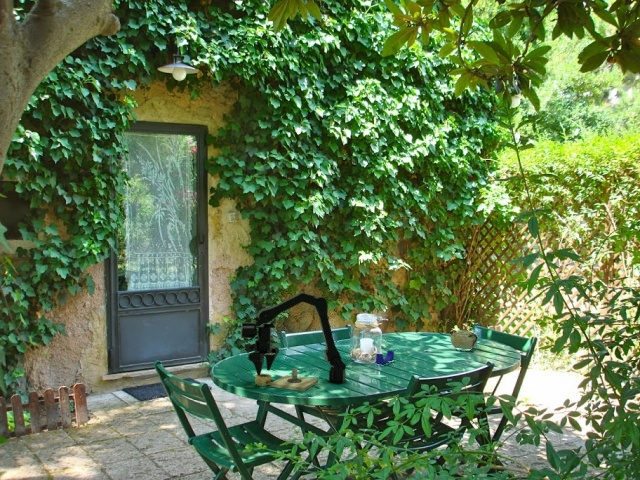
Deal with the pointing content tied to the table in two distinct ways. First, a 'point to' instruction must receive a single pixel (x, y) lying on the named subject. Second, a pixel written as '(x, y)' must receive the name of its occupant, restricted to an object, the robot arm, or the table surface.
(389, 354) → the cable clip
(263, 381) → the ring
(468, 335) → the sugar bowl
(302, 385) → the stand
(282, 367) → the table surface
